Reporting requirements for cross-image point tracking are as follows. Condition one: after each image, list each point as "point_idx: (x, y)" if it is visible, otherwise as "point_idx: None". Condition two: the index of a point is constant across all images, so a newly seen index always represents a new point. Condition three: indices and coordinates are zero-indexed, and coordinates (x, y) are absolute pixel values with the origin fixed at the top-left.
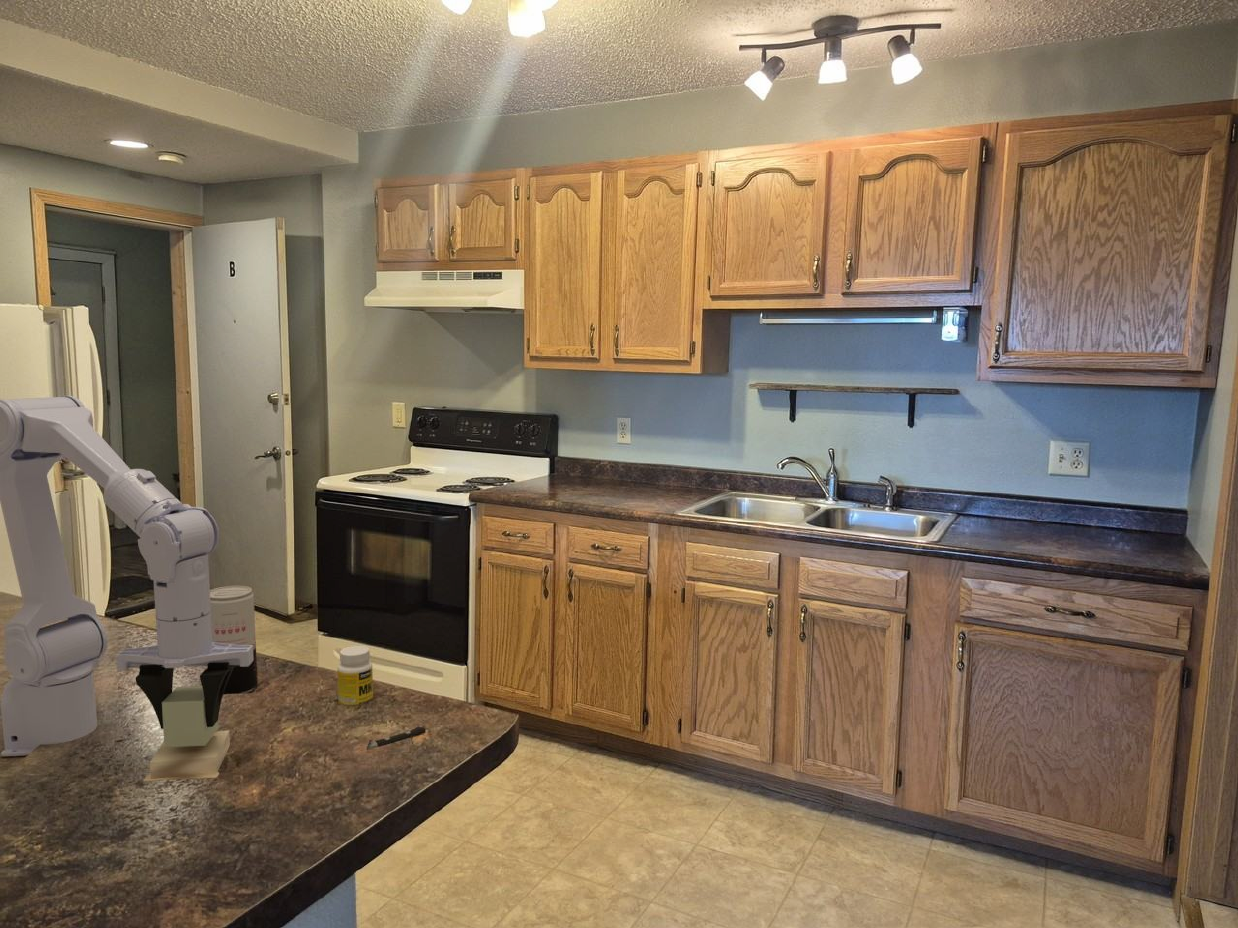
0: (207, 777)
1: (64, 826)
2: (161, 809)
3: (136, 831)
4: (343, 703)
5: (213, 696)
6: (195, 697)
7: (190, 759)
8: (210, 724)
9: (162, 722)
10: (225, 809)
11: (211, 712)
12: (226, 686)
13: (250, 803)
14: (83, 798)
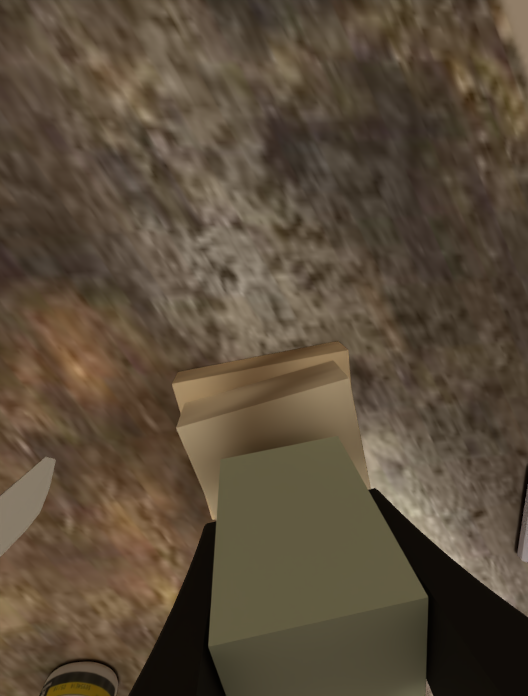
0: (195, 381)
1: (443, 182)
2: (255, 272)
3: (259, 165)
4: (82, 688)
5: (143, 693)
6: (275, 663)
7: (243, 407)
8: (207, 529)
9: (380, 505)
10: (95, 283)
11: (187, 579)
12: None
13: (49, 315)
14: (454, 306)
